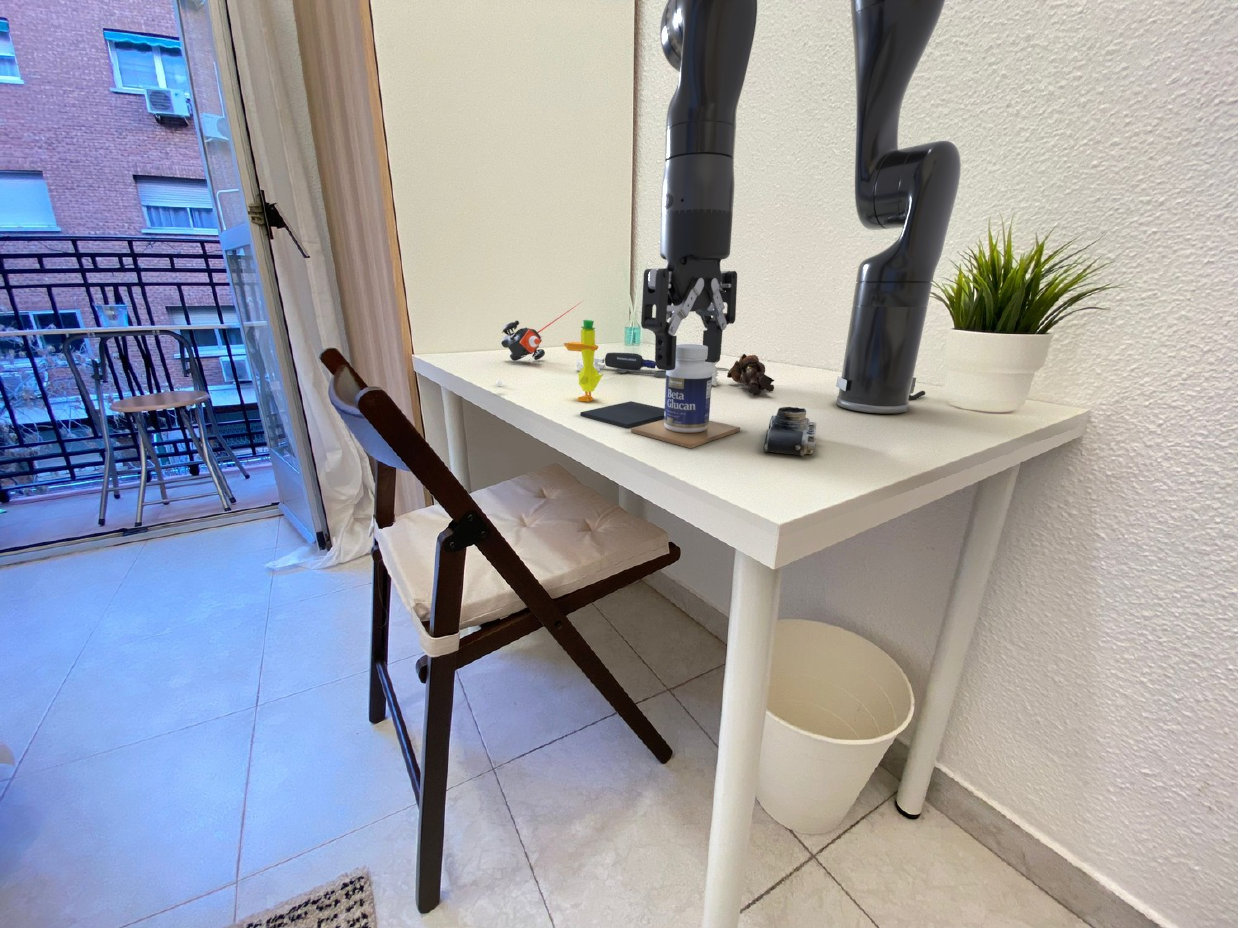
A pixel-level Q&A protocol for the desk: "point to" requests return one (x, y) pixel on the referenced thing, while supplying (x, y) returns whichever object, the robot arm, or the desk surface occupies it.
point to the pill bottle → (688, 390)
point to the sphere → (499, 383)
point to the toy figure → (586, 360)
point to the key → (644, 372)
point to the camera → (790, 432)
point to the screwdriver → (632, 361)
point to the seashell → (713, 372)
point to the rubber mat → (626, 414)
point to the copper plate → (685, 439)
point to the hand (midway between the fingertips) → (689, 365)
